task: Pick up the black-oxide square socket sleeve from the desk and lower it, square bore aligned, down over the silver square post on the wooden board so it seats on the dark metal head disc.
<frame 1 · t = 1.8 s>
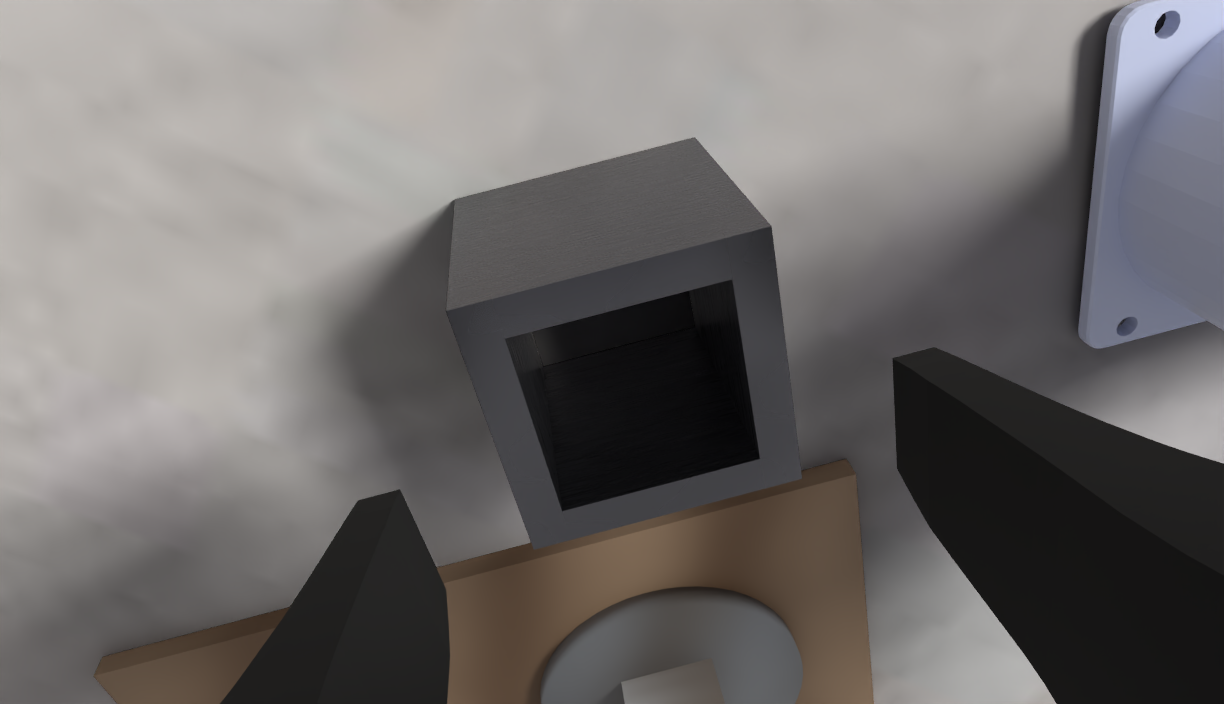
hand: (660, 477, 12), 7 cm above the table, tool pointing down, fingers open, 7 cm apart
wooden board: (535, 681, 25), on the table
socket sleeve: (602, 277, 18), on the table
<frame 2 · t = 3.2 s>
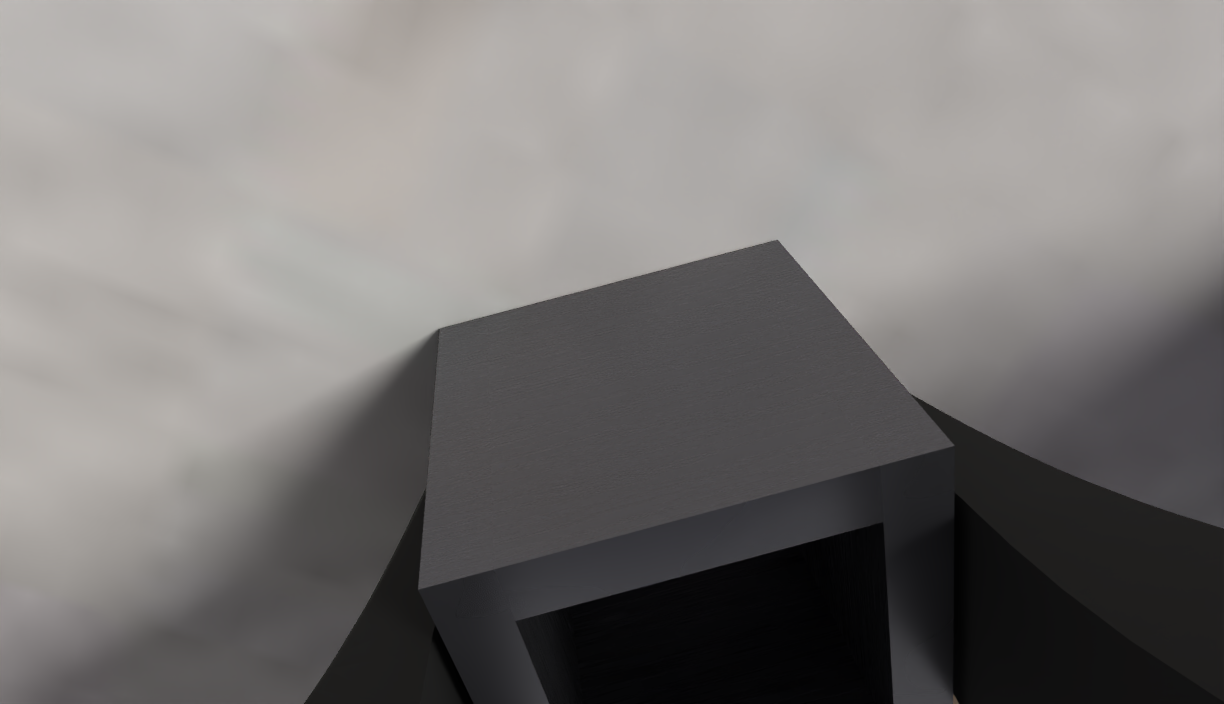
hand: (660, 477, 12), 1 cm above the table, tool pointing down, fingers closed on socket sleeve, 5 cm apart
socket sleeve: (642, 422, 13), on the table, touching gripper
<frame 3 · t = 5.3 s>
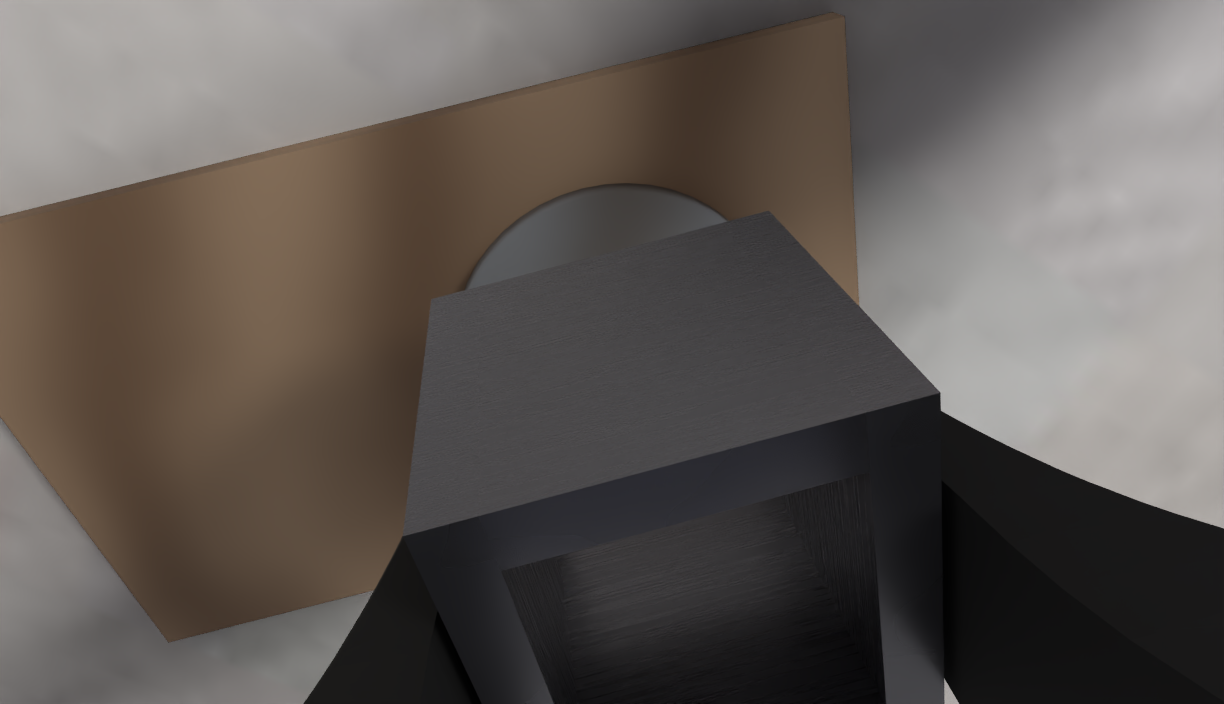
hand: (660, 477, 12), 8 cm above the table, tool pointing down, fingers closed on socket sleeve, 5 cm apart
wooden board: (456, 351, 20), on the table
socket sleeve: (635, 396, 13), point 7 cm above the table, touching gripper
when the fingers open (4 cm above the table, at t = 7.5 s): socket sleeve drops 1 cm, resting on wooden board.
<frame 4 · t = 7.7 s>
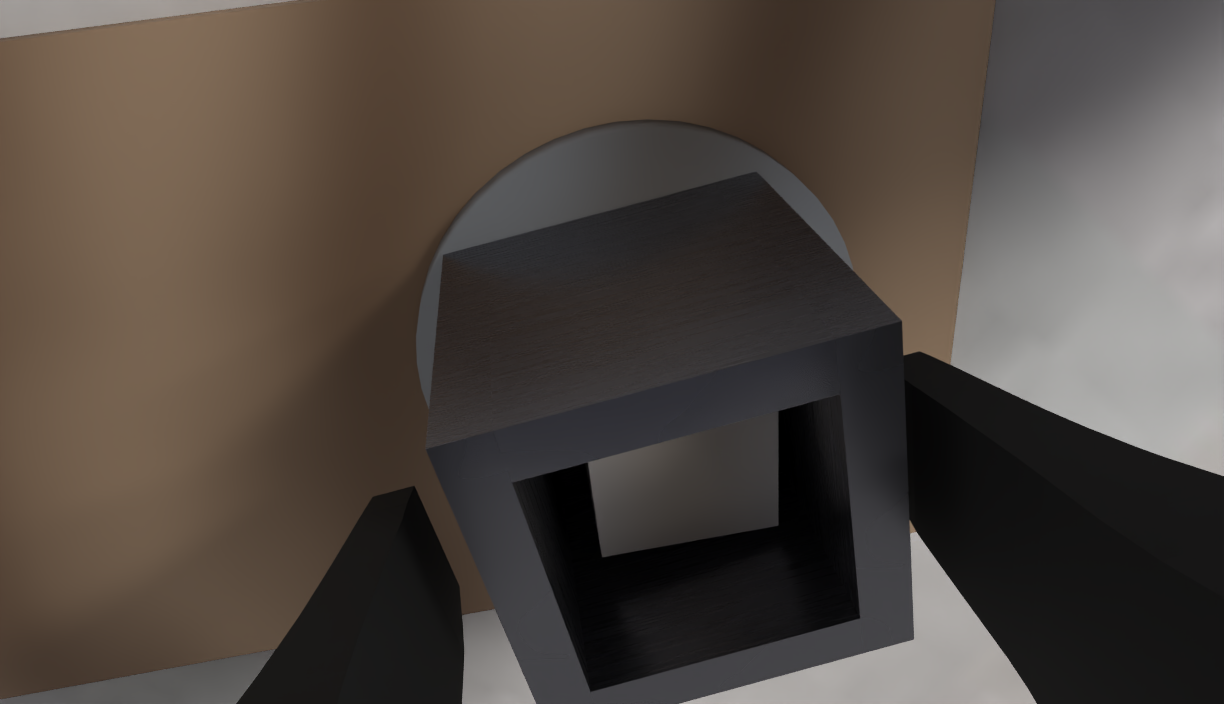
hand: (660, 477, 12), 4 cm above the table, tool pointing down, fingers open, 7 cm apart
wooden board: (416, 339, 15), on the table, touching socket sleeve
socket sleeve: (633, 347, 14), point 1 cm above the table, touching wooden board
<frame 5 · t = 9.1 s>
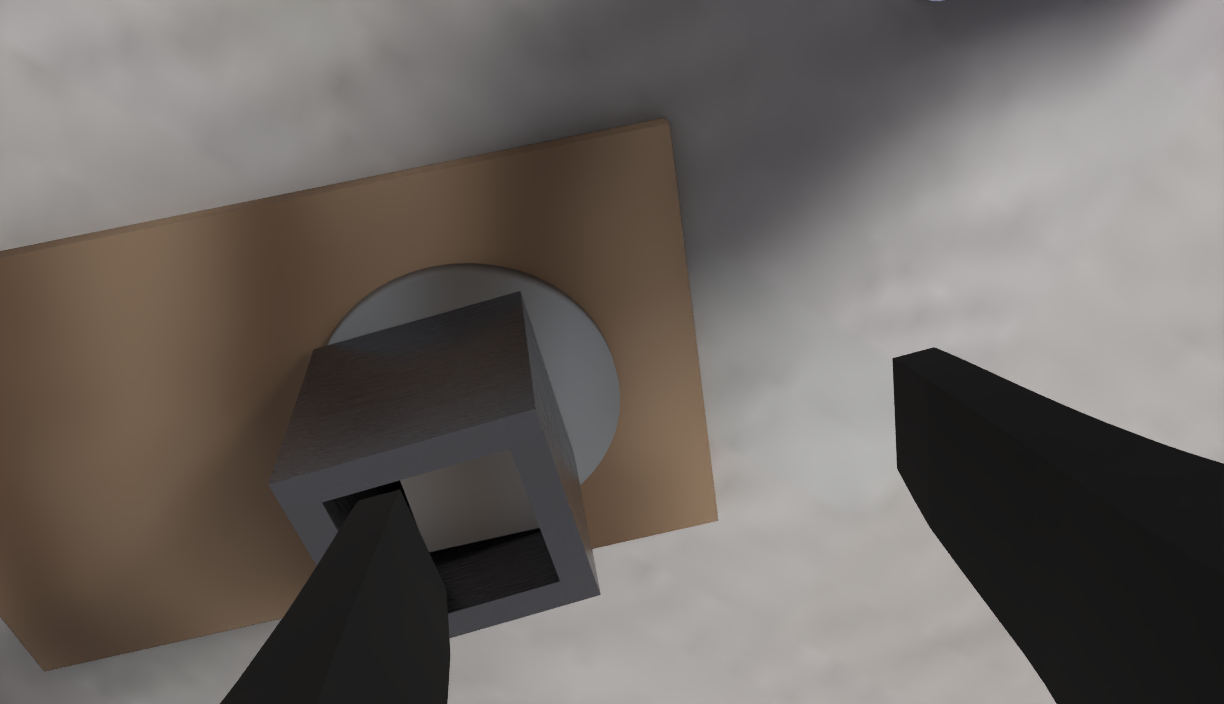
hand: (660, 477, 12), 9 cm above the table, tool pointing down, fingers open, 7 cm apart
wooden board: (325, 406, 22), on the table, touching socket sleeve
socket sleeve: (452, 405, 20), point 1 cm above the table, touching wooden board
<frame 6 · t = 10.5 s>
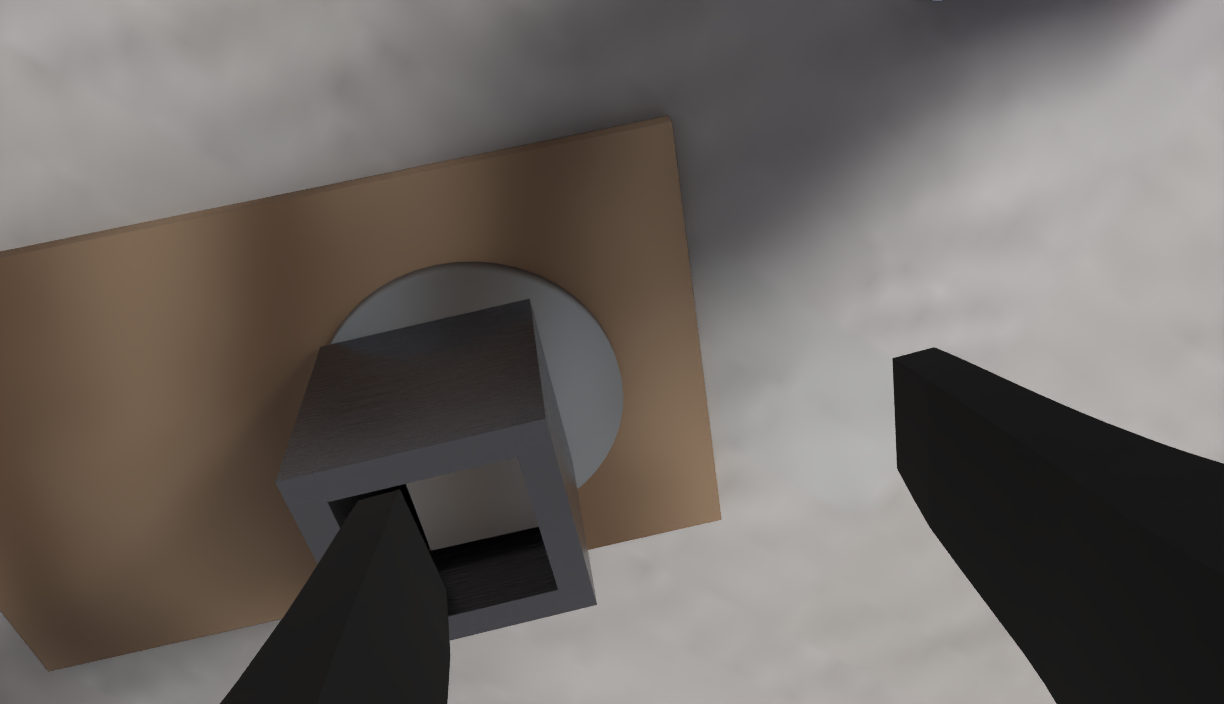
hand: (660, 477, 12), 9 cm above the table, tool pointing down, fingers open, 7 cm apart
wooden board: (328, 405, 22), on the table, touching socket sleeve
socket sleeve: (455, 408, 20), point 1 cm above the table, touching wooden board
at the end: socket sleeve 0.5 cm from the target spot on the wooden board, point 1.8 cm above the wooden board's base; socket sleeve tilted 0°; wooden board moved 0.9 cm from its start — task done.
